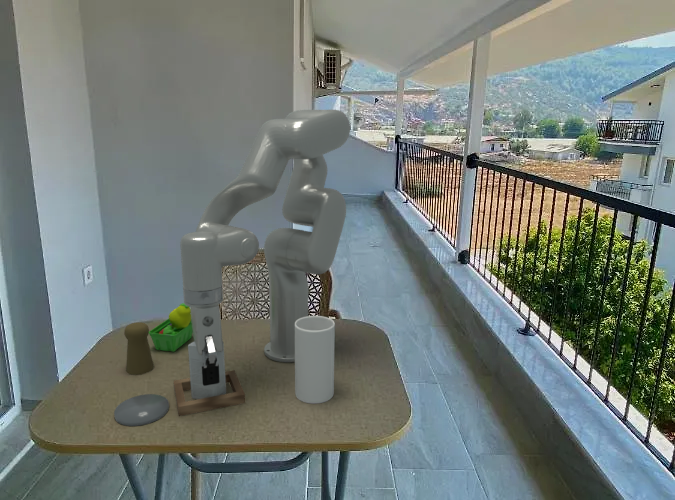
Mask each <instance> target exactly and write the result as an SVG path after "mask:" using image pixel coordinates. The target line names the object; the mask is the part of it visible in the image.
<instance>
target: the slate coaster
mask: <svg viewBox="0 0 675 500" xmlns="http://www.w3.org/2000/svg"><path fill="white" fill-rule="evenodd" d="M169 408H170V402H169V399H168V398H166V397H165V396H163V395H161V394H155V393H154V394H153V393H146V394H139V395H136V396H133V397H130V398H127V399H125V400H124V401H122V402H121V403H119V404H118V405H117V406H116V408H115V409H114V412H113V413H114V420H115V421H116V422H117V423H118V424H120V425H123V426H125V427H137V426H139V427H141V426H145V425H149V424H151V423H153V422H156V421H159V420H160V419H161V418H163V417H164V416H165V415H166V414H167V413H168V412H169V410H170V409H169Z"/></svg>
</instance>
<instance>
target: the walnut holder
mask: <svg viewBox="0 0 675 500" xmlns="http://www.w3.org/2000/svg"><path fill="white" fill-rule="evenodd" d="M225 380H226V384H228V383H229V385H230V388H231V391H232V392H229V393H226V394H223V395H218V396H213V397H208V398H202V399H193V400H188V401H187V400H186V398H185V391H191V383H190V377H187V378H181V379H175V380H173V391H174V392H173V393H174V397H175V401H176V408H177V414H178V417H182V416H189V415H194V414H198V413H203V412H208V411H213V410H218V409H222V408H228V407H232V406H237V405H243V404H246V394H245V391H244V389H243V386H242V384H241V381H240V380H239V377H238V375H237V373H236V371H235V370H234V369H233V370H227V371H226V370H225Z"/></svg>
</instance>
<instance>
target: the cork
mask: <svg viewBox="0 0 675 500" xmlns="http://www.w3.org/2000/svg"><path fill="white" fill-rule="evenodd" d="M149 331H150V328H149V326H148V324H147V323H144V322H140V321H139V322H138V321H137V322H132V323H129V324H128V325H127V326H126V327H125V329H124V337H125V339H126V341H127V345H126V347H127V349H126V365H125V366H126V367H125V372H126V374H127V375H131V376H132V375H133V376H134V375H135V376H137V375H138V376H139V375H143V374H144V375H145V374H147V373H149V372H151V371H152V370H153V369H154V368H155V365H154V360H153V356H152V352H151V349H150V344H149V340H148V336H149Z"/></svg>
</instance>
